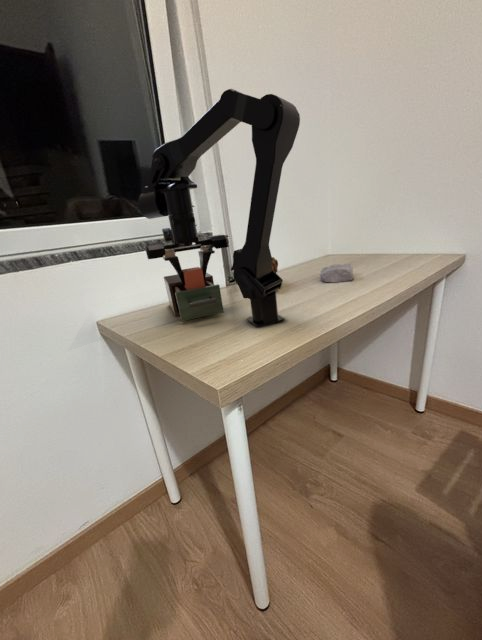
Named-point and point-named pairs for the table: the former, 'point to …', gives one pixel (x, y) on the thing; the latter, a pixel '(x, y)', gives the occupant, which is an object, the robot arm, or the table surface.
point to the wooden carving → (274, 265)
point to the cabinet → (169, 284)
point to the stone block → (337, 273)
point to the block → (193, 278)
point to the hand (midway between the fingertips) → (194, 283)
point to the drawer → (198, 301)
